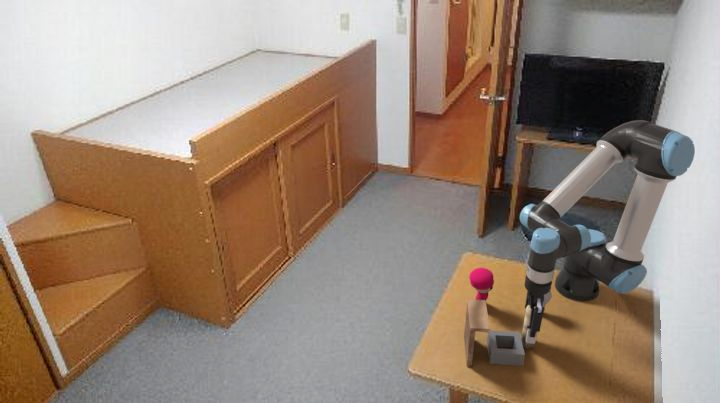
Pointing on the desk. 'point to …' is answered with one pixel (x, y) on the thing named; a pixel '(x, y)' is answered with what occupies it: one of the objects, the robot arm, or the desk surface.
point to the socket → (505, 355)
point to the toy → (481, 282)
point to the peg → (524, 332)
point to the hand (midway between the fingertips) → (529, 336)
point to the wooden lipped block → (474, 325)
